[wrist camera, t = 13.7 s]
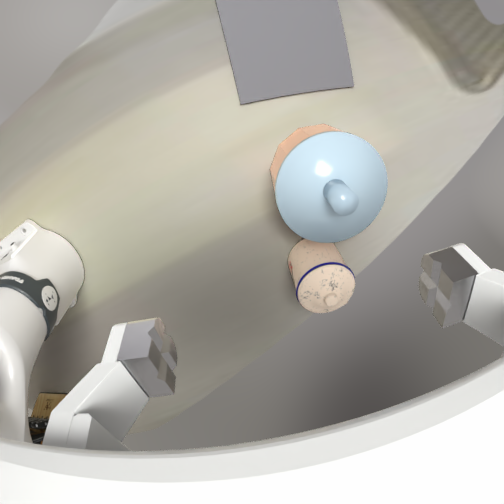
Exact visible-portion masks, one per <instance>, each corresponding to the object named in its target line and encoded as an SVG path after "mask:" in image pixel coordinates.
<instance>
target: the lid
mask: <svg viewBox="0 0 504 504" xmlns="http://www.w3.org/2000/svg"><path fill="white" fill-rule="evenodd" d="M387 183H388V180H387V172H386V168H385V165H384V163H383V160H382V158H381V157H380V155H379V153H378V152H377V151H376V150H375V148H374V147H372V146H371V145H370V144H369V143H368V142H366V141H365V140H363V139H362V138H360V137H358V136H356V135H353V134H351V133H348V132H342V131H326V132H321V133H317V134H315V135H312V136H310V137H308V138H306V139H304V140H303V141H301V142H300V143H299V144H297V145H296V146H295V147H294V148H293V149H292V150H291V151H290V152H289V153H288V154H287V156H286V157H285V159H284V160H283V162H282V164H281V166H280V168H279V170H278V174H277V177H276V182H275V198H276V203H277V206H278V209H279V212H280V214H281V216H282V218H283V220H284V221H285V223H286V224H287V225H288V226H289V228H290V229H292V230H293V231H294V232H295V233H296V234H298V235H299V236H301V237H303V238H305V239H308V240H311V241H314V242H319V243H333V242H339V241H343V240H346V239H349V238H351V237H353V236H355V235H357V234H358V233H360V232H361V231H363V230H364V229H365V228H366V227H368V226H369V225H370V224H371V223H372V221H373V220H374V219H375V218H376V216H377V215H378V213H379V212H380V210H381V208H382V206H383V203H384V201H385V197H386V193H387Z"/></svg>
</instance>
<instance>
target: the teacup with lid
mask: <svg viewBox="0 0 504 504" xmlns="http://www.w3.org/2000/svg"><path fill="white" fill-rule="evenodd" d="M288 266H289V270H290V273H291V276H292V279H293V282H294V285H295V288H296V296H297V299H298V301H299V303H300V304H301V305H302V306H303V307H304V308H305V309H307V310H308V311H311V312H314V313H327V312H331V311H334V310H336V309H338V308H340V307H341V306H343V305H345V304H347V303H348V300H349V299H350V297H351V296H352V294H353V292H354V288H355V277H354V274H353V272H352V271H351V269H350V268H348V267H347V265H346V263H345V262H344V260H343V258H342V257H341V255H340V253H339V251H338V250H337V248H336V246H335V245H334V244H333V243H319V242H314V241H311V240H308V239H303V240H301V241H300V242H298V243H297V244H296V245H295V246H294V247H293V248H292V250H291V252H290V254H289V257H288Z"/></svg>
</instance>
